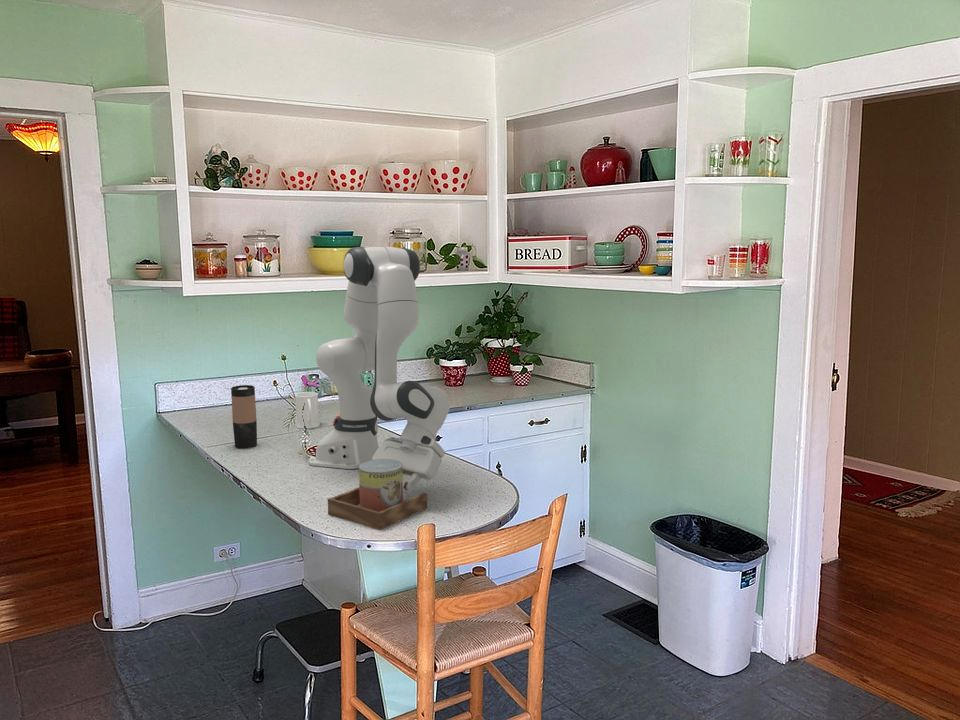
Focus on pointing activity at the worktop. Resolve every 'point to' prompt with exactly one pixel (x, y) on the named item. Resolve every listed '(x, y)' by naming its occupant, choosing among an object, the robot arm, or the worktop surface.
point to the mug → (307, 410)
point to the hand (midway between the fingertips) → (392, 486)
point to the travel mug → (244, 416)
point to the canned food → (380, 484)
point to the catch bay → (349, 510)
